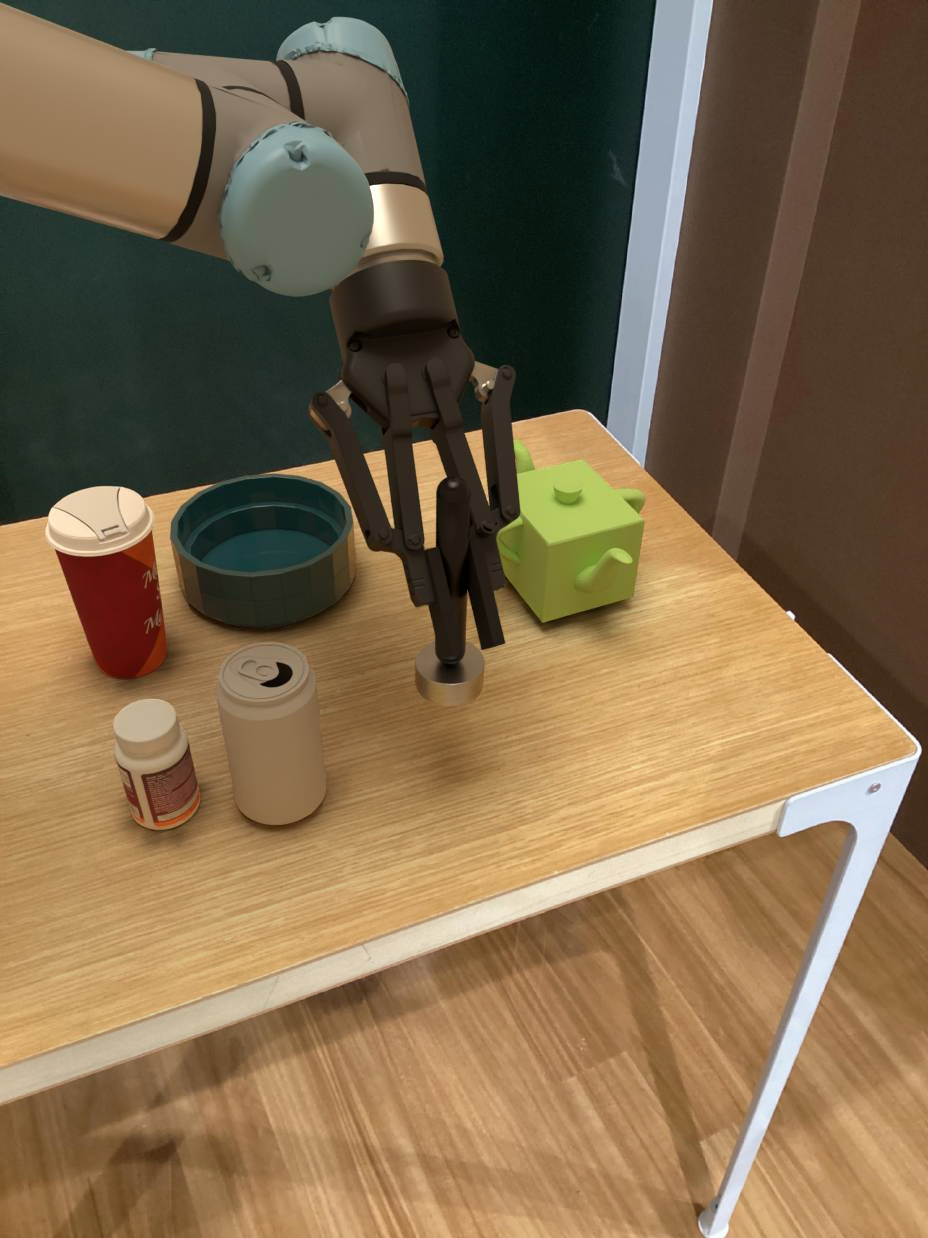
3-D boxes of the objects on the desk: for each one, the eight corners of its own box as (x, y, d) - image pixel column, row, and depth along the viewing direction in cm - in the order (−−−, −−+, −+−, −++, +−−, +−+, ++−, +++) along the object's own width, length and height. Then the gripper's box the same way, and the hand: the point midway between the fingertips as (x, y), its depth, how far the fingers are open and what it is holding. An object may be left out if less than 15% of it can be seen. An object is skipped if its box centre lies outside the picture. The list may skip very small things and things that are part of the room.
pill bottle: (211, 784, 76) (193, 698, 70) (185, 837, 72) (165, 750, 67) (147, 774, 76) (125, 689, 71) (119, 826, 72) (93, 740, 67)
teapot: (618, 655, 87) (633, 549, 80) (461, 623, 90) (462, 518, 83) (648, 550, 98) (663, 449, 91) (507, 525, 101) (512, 425, 94)
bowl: (178, 642, 87) (167, 584, 83) (183, 536, 99) (173, 480, 95) (364, 623, 89) (361, 566, 86) (347, 522, 101) (344, 467, 97)
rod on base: (420, 710, 69) (419, 503, 59) (410, 664, 73) (408, 460, 63) (489, 703, 70) (501, 497, 60) (476, 657, 73) (485, 454, 63)
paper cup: (196, 665, 85) (168, 518, 76) (102, 701, 82) (61, 553, 73) (158, 613, 90) (128, 470, 81) (68, 645, 87) (26, 500, 78)
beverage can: (301, 843, 72) (286, 715, 64) (217, 816, 73) (192, 688, 66) (342, 776, 76) (332, 650, 69) (262, 753, 78) (244, 627, 70)
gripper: (483, 291, 72) (564, 632, 70) (261, 319, 68) (342, 682, 66) (517, 240, 65) (608, 619, 63) (271, 267, 60) (363, 673, 59)
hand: (472, 650), depth 65 cm, fingers closed on rod on base, 2 cm apart
